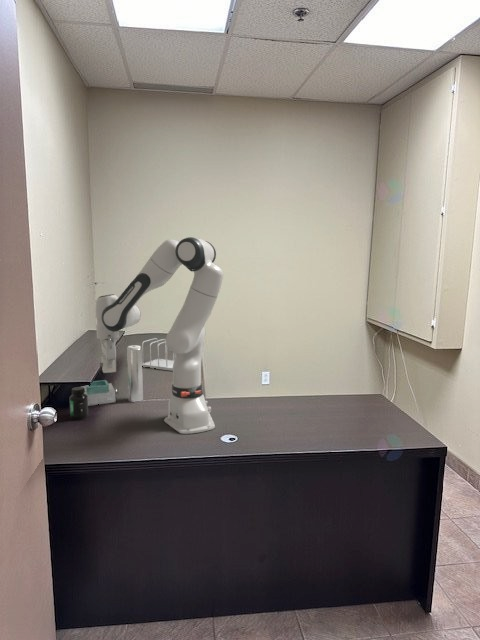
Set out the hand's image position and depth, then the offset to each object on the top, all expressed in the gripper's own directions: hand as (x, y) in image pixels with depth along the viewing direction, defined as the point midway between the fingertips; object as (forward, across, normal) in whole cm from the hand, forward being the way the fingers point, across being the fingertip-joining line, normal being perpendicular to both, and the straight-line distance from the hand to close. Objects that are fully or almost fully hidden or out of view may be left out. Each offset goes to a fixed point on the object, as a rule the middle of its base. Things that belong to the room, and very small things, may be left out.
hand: (109, 366), depth 174 cm
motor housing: (+19, +16, +4) cm, 25 cm away
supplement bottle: (+19, -4, +13) cm, 23 cm away
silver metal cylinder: (+19, +9, -12) cm, 24 cm away
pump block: (+2, 0, 0) cm, 2 cm away
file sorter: (+20, +64, -40) cm, 78 cm away
